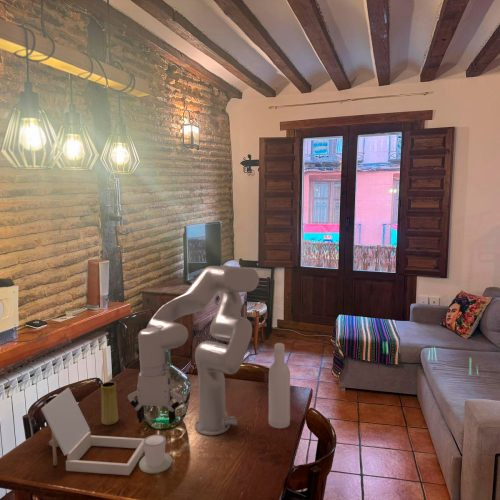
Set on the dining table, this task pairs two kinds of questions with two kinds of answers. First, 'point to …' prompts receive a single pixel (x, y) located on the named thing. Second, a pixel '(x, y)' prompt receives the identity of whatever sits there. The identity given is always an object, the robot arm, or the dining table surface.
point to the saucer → (156, 469)
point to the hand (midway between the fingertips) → (156, 421)
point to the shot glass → (154, 450)
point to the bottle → (279, 390)
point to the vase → (109, 403)
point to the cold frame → (84, 438)
